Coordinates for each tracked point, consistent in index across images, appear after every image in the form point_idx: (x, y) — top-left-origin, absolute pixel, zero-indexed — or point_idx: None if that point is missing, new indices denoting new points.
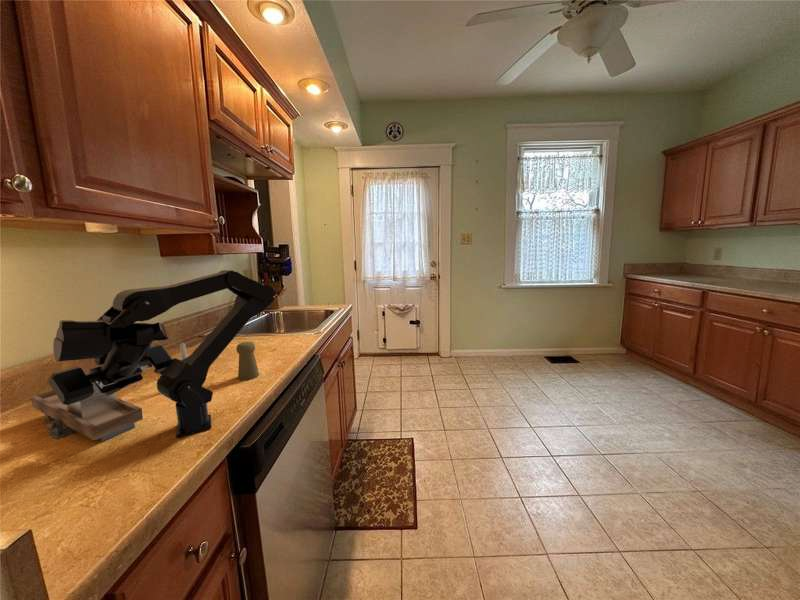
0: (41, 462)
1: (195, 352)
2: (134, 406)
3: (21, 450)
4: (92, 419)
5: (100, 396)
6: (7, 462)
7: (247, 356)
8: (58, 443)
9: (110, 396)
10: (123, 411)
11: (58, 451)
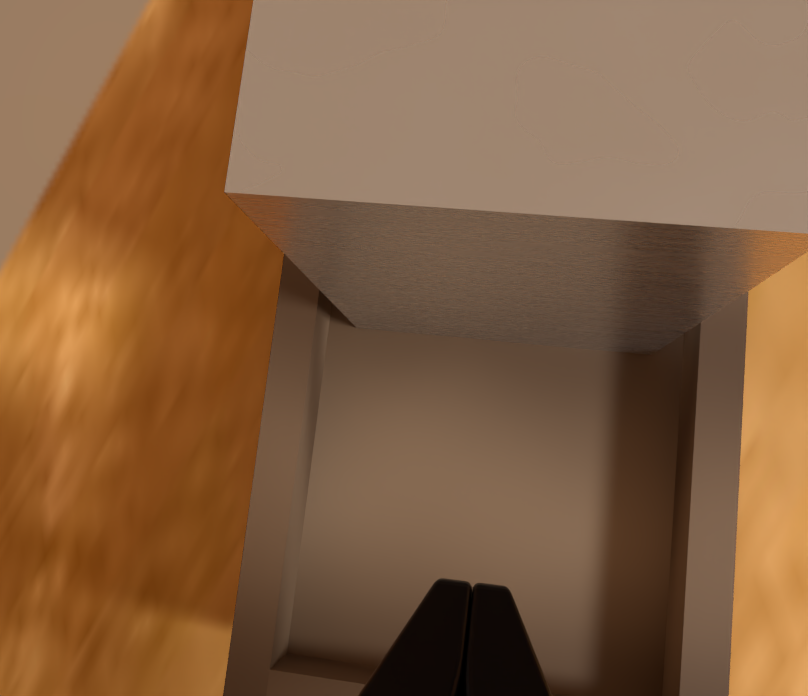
0: (53, 472)
1: None
2: (713, 639)
3: (136, 146)
4: (404, 386)
5: (533, 301)
6: (22, 238)
7: None
8: (249, 289)
9: (640, 324)
10: (633, 512)
11: (173, 423)
